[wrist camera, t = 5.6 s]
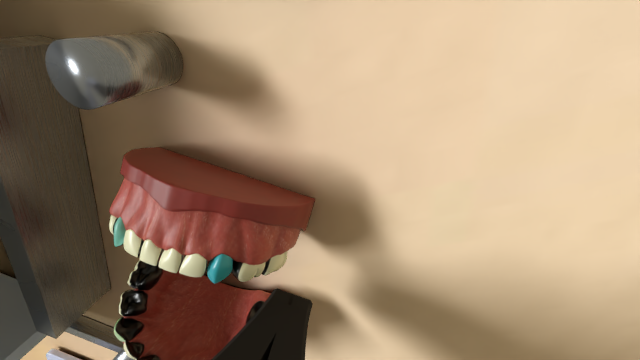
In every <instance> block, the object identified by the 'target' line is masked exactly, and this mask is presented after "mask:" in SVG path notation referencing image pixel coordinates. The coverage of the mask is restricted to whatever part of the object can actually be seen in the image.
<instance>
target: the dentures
mask: <svg viewBox="0 0 640 360" xmlns="http://www.w3.org/2000/svg"><path fill="white" fill-rule="evenodd" d="M120 173H121V174H122V175H123V176H124V180H123V182H122V185H121V187H120V189H119V191H118V193H117V195H116V197H115V199H114V201H113V203H112V205H111V207H110V210H109V213H110V214H111V218H110V222H109V229H110V232H111V233H112V234H113V235H114V246H115V247H116V246H120V245H122V244H123V245H124V249H125V251H126V252H128V253H129V254H131V255H133V256H135V257H139V255H140V258H139V259H140V260H139V261H138V262H137V264H136V266H135V268H134V271H132V272H131V273H130V276H129V279H128V282H127V283H128V285H129V286H131V287H133V288H135V290H128V291H125V292H124V293H122V295H121V300H120V304H119V314H120V315H122V316H124V317H121V318H120V319H119V320H118V321H117V322H116V324H115V327H114V334H115V336H116V337H117V338H118V339H119V340H120V341H122V342H123V343H124V345H123V346H124V350H125V353H126V355H127V356H128V357H129V358H131V359H135V360H211V359H212V358H213V357H214V356H216V355H217V354H218V353H219V352H220V351H221V350H222V349H223V348H224V347H225V346H226V345H227V344H228V343H229V342H230V341H231V340H232V339H233V338H234V337H235V336H236V335H237V333H238V332H239V331H240V330H241V329H242V328H243V327H244V326H245V325H246V324H247V323H248V322H249V321H250V319H251V318H252V317H253V316H254V315H255V314H256V313H257V311H258V310H259V309H260V308H261V307H262V305H263V304H264V303H265V301H266V300H267V299H268V297H269V296H270V295H271V293H268V292H265V291H262V290H245V289H240V288H236V287H232V286H229V285H227V284H224V283H221V282H220V281H222V280H223V279H225V278H226V277H227V276H229V275H230V273H232V274H233V275H234V276H235V277H236V278H237V279H238V280H239V281H241V282H246V281H249V280H251V279H252V278H253V277H258V276H260V275H261V274H263V275H268V274H270V273H271V272H273V271H277V270H278V269H280V268H281V267H282V266H283V265H284V264H285V262H286V259H287V251H288V250H289V249H290V248H292V247H294V245H295V244H296V241H297V239H298V236H299V234H300V231H301V230H302V231H305V230H306V228H307V224H308V221H309V218H310V215H311V211H312V208H313V205H314V202H315V199H314V198H311V197H308V196H305V195H302V194H299V193H296V192H293V191H290V190H287V189H284V188H281V187H278V186H275V185H272V184H269V183H266V182H263V181H260V180H257V179H254V178H251V177H248V176H245V175H242V174H239V173H236V172H233V171H230V170H227V169H224V168H221V167H218V166H215V165H212V164H209V163H206V162H203V161H200V160H197V159H194V158H191V157H188V156H184V155H181V154H178V153H175V152H172V151H169V150H166V149H163V148H160V147H156V148H140V149H134V150H131V151H129V152H128V153H126V154H125V155H124V158H123V162H122V167H121V172H120ZM163 249H164V251H163ZM162 251H163V253H162ZM161 253H162V255H161ZM184 255H185V258H184V259H183V257H184ZM208 261H210V262H209V264H208V267H207V262H208ZM206 269H207V275H208V277H207V276H205V275H204V273H205V272H206Z"/></svg>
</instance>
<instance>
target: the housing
mask: <svg viewBox="0 0 640 360" xmlns="http://www.w3.org/2000/svg"><path fill="white" fill-rule="evenodd" d="M46 336H47V335H45V334H43V333H40V332H38V331H37V330H36V328H35V325H34V323H33V320H32V317H31V315H30V312H29V310H28V307H27V305H26V302H25V299H24V297H23V294H22V292H21V289H20V286H19V284H18V281H17V279H15V278H12V277H10V276H7V275H4V274H2V273H0V360H20V359H21V358H22V357H23V356H24V355H26V354H27V353H28V352H29V351H30V350H31V349H32V348H33V347H35V346H36V345H37V344H38V343H39V342H40V341H41V340H42V339H43V338H45V337H46Z"/></svg>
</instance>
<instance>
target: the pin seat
mask: <svg viewBox="0 0 640 360" xmlns="http://www.w3.org/2000/svg"><path fill="white" fill-rule="evenodd" d="M182 70H183V62H182V57H181V54H180V51H179V50H178V48H177V46H176V45H175V43H174V42H173V41H172V40H171V39H170V38H169V37H167V36H166V35H164V34H162V33H160V32H141V33H129V34H117V35H105V36H93V37H81V38H69V39H59V40H55V39H51V38H47V37H44V36H27V37H13V38H0V237H1V240H2V242H3V245H4V248H5V250H6V253H7V255H8V258H9V261H10V263H11V266H12V268H13V271H14V273H15V276H16V279H17V281H18V284H19V286H20V289H21V292H22V294H23V297H24V299H25V302H26V305H27V307H28V310H29V312H30V315H31V317H32V320H33V323H34V325H35V328H36V330H37V331H38V332H40V333H43V334H45V335H48V336H50V337H53V338H55V339H57V338H58V337H59V336H60V335H61V334H62V333H63V332H64V331H65V332H68V333H70V334H73V335H75V336H78V337H80V338H83V339H85V340H88V341H90V342H93V343H95V344H98V345H100V346H103V347H105V348H108V349H110V350H113V351H115V352H118V354H117V355H116V357H115V358H114V359H113V360H135V359H131V358H129V357H128V356H127V355H126V353H125V350H124V346H123V345H124V343H123V342H122V341H120V340H119V339H118V338H117V337H116V336H115V334H114V328H112V327H110V326H107V325H104V324H102V323H99V322H97V321H94V320H92V319H89V318H86V317H84V316H81V315H83V314H84V313H85V312H86V311H87V310H88V309H89V308H90V307H91V306H92V305H93V304H94V303H95V302H97V301H98V300H99V299H100V298H101V297H102V296H103V295H104V294H105V293H106V292H107V291H108V290H109V289H111V286H110V281H109V275H108V270H107V264H106V259H105V253H104V248H103V242H102V237H101V231H100V226H99V220H98V215H97V209H96V204H95V198H94V193H93V187H92V182H91V176H90V171H89V165H88V160H87V154H86V149H85V143H84V138H83V132H82V127H81V121H80V116H79V111H78V108H81V109H87V110H90V109H95V108H98V107H101V106H104V105H108V104H111V103H114V102H117V101H120V100H124V99H127V98H130V97H133V96H136V95H140V94H143V93H146V92H149V91H153V90H156V89H159V88H162V87H165V86H169V85H172V84H174V83H176V82H177V81H178V80H179V78H180V77H181V74H182Z"/></svg>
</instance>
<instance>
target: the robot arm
mask: <svg viewBox="0 0 640 360" xmlns="http://www.w3.org/2000/svg"><path fill="white" fill-rule="evenodd" d="M311 308H312V302H311V301H310V300H308V299H305V298H302V297H300V296H297V295H294V294H291V293H288V292H285V291H283V290H280V289H275V290H273V292H272V293H271V295H270V296H269V297H268V299H267V300H266V301H265V303H264V304H263V305H262V307H261V308H260V309H259V310H258V311H257V313H256V314H255V315H254V316H253V317H252V318H251V319H250V321H249V322H248V323H247V324H246V325H245V326H244V327H243V328H242V329H241V330H240V331H239V332H238V333H237V335H236V336H235V337H234V338H233V339H232V340H231V341H230V342H229V343H228V344H227V345H226V346H225V347H224V348H223V349H222V350H221V351H220V352H219V353H218V354H217V355H216V356H214V357H213V358H212V359H211V360H305V346H306V336H307V327H308V321H309V315H310V311H311ZM46 357H47V360H82V359H79V358H77V357H74V356H72V355H69V354H67V353H64V352H62V351H59V350H57V349H51V350H50V351H49V352H48V353H47V354H46Z"/></svg>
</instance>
